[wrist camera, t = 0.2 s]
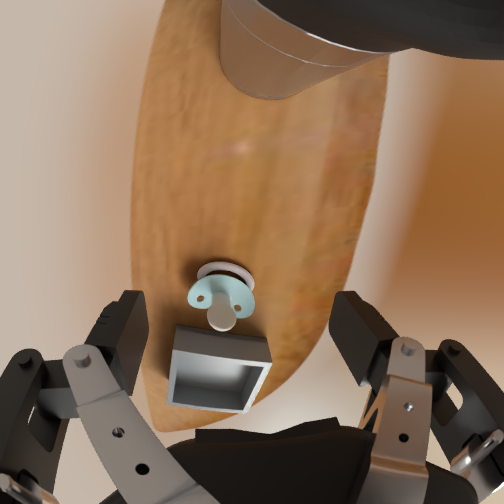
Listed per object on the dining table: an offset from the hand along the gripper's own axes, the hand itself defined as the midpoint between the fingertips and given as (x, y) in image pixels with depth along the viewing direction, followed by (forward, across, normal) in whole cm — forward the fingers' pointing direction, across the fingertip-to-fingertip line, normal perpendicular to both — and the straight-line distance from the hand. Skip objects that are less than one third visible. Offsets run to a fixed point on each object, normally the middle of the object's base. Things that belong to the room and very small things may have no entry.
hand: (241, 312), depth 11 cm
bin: (+18, +1, +21) cm, 28 cm away
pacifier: (+18, 0, +8) cm, 20 cm away
